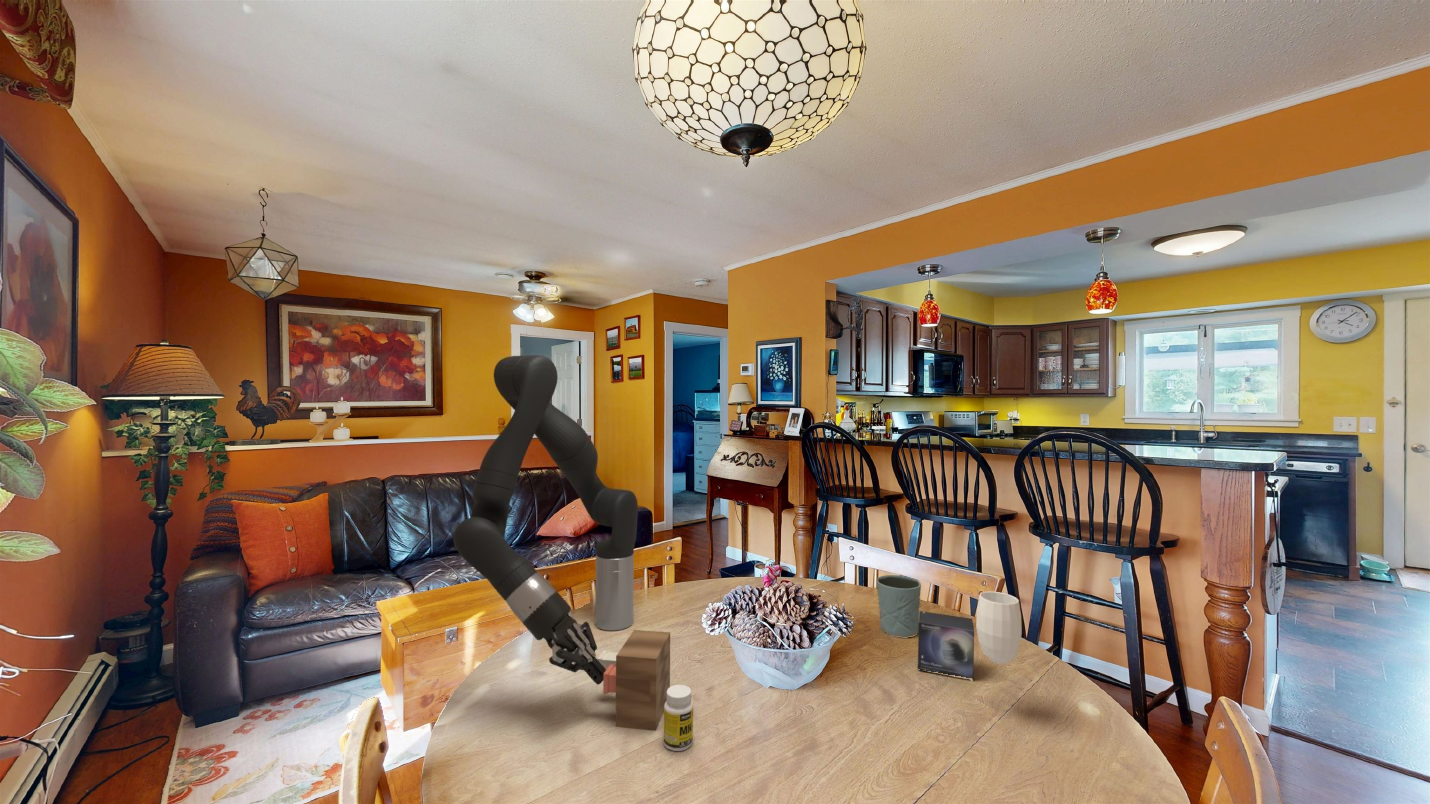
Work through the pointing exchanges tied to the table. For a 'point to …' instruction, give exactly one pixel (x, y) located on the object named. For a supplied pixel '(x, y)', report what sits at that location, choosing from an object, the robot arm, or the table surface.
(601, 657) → the white block
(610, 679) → the red button
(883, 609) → the green embossed pot
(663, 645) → the walnut box
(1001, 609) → the cup
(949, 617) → the small box
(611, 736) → the table surface
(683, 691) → the supplement bottle
